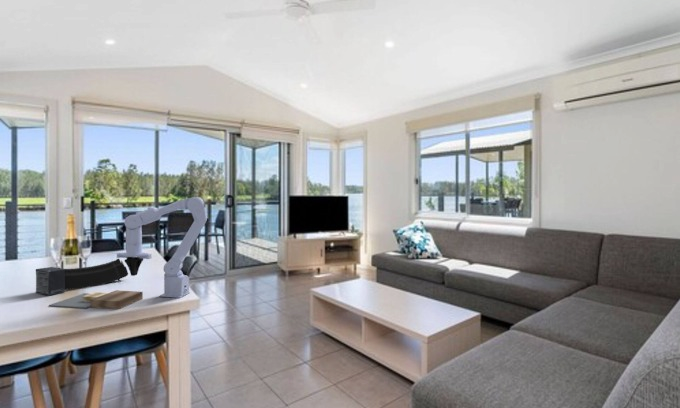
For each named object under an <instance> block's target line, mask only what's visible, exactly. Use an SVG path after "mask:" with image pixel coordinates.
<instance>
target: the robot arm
mask: <svg viewBox="0 0 680 408" xmlns="http://www.w3.org/2000/svg"><path fill="white" fill-rule="evenodd" d="M177 210H183V211H184V210H185V211H186V210H188V211H189V212H190V214H191V216H192V218H193V222H192V224H191V226H190V227H189V229H188V231H187V232H186V233H185V236H184V237H183V239H182V240H181V242H180V244H179V246H178V247H177V249H176V251H175V252H174V254H173V255H172V256H171V258H170V259H169V260H168V261H167V262H166V263H165V264H164V265H163V272H164V276H163V279H164V281H163V284H164V285H163V286H164V287H163V291H164V292H163V293H162V294H160V295H159V297H161V298H162V297H163V298H177V299H178V298H182V297H184V296H186V295H188V294H190V293H191V291H190V277H189V276H188V275H185V274H184V273H183V271H182V268H183V266H184V262H185V258H186V257H187V255H188V253H189V252H190V250H191V248H192V246H193V245H194V243H195V242H196V240H197V238H198V237H199V235H200V233H201V232H202V229H203V228H204V226H205V224H206V223H207V219H208V217H207V205H206V204H205V202H204V199H203V198H201V197H199V196H193V197H190V198H185V199H179V200H177V201H175V202H174V201H173V202H172V203H169V204H167V205H164V206H162V207H160V208H158V207H154V206H153V207H151V206H149V207H147V209H145V210H143V211H136V212H135V214H130V215H128V216H127V217H126V218H125V219H124V226H125V228H126V229H125V230H126V231H125V252H117V253H116V259H120V258H123V259H124V263H125V264H126V265H127V266H126V267H127V268H128V270H129V274H130V277H131V276H132V277H134V276H137V275H138V272H139V268H140V266H141V264H142V262H143V261H144V260H150V259H152V253H147V252H143V232H142V230H143V229H142V226H143V225H144V226H145V225H148V224H151V223H154V222H156V221H160V219H161V218H162V216H163V215H166V214H168V213H172V212H175V211H177Z"/></svg>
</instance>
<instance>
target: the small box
mask: <svg viewBox="0 0 680 408" xmlns="http://www.w3.org/2000/svg"><path fill="white" fill-rule="evenodd" d="M65 269H66V268H60V267H55V266H49V267H42V268H41V267H40V268H36V269H35V293H36V294H40V295H43V296H53V295H58V294H62V293H63V294H64V293H65V292H66V290H65Z"/></svg>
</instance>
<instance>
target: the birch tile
mask: <svg viewBox="0 0 680 408" xmlns="http://www.w3.org/2000/svg"><path fill="white" fill-rule="evenodd" d="M108 293H109V292H97V291H96V292H91V293H89V294H88V295H85V296H82V301H84V302H90V300H91V299H94V298H96V297H99V296H102V295H105V294H108Z"/></svg>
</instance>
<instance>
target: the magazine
mask: <svg viewBox="0 0 680 408" xmlns="http://www.w3.org/2000/svg"><path fill="white" fill-rule="evenodd" d="M64 269H65V291H66V290H76V289H77V290H78V289H84V288H85V289H86V288H92V287H97V286H101V285H105V284H109V283H112V282H115V281H116V282H117V281H118V282H120V281H121V279H123V278H125V277H128V275H129V272H128V269H127V266H125V264H124V262H123V260H120V258H116V259H115V260H112V261H108V262H106V263H102V264H97V265H93V266H86V267H74V268H64Z"/></svg>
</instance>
